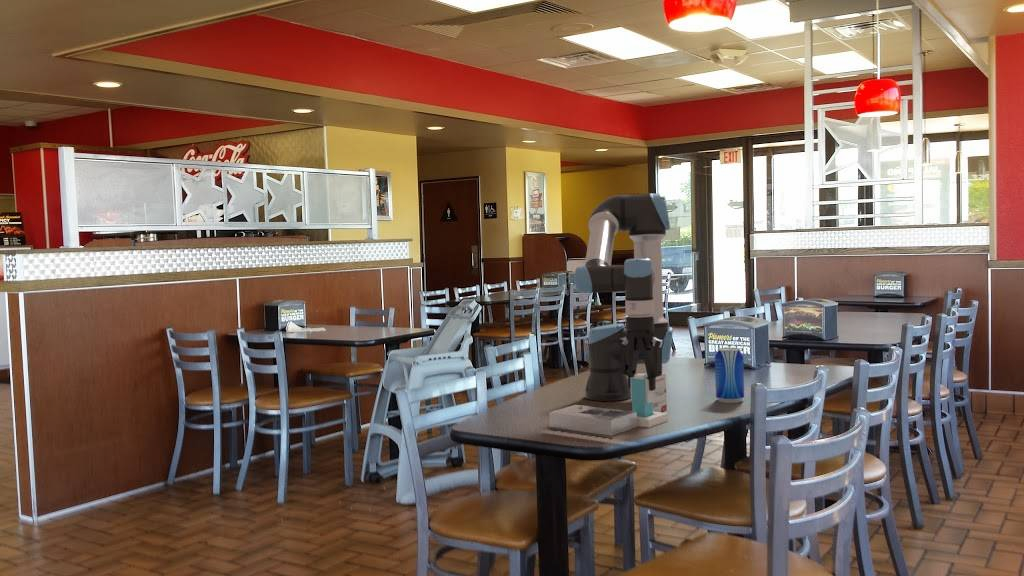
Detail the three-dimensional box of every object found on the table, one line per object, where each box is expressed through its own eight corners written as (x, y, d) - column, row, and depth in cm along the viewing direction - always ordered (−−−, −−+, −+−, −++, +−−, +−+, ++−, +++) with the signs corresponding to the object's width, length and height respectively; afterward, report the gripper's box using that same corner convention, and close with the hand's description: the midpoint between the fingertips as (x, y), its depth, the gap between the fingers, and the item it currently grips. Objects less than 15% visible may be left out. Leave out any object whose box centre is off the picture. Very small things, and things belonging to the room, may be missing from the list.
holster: (617, 426, 236) (616, 415, 236) (637, 420, 244) (637, 409, 244) (648, 431, 230) (648, 419, 229) (668, 424, 237) (668, 413, 237)
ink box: (652, 411, 255) (651, 371, 254) (667, 413, 252) (666, 372, 251) (637, 417, 248) (636, 376, 247) (652, 418, 245) (651, 377, 244)
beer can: (745, 403, 261) (743, 350, 261) (716, 403, 263) (715, 350, 262) (743, 398, 270) (742, 346, 269) (715, 398, 271) (714, 347, 271)
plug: (632, 422, 236) (631, 374, 236) (640, 419, 239) (639, 372, 239) (645, 424, 234) (643, 376, 233) (653, 421, 237) (651, 373, 236)
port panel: (550, 430, 235) (549, 410, 235) (576, 422, 244) (575, 402, 244) (611, 439, 222) (610, 418, 221) (637, 430, 231) (636, 410, 231)
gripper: (605, 316, 238) (608, 400, 239) (659, 317, 227) (662, 406, 228) (621, 313, 243) (623, 396, 245) (674, 315, 232) (677, 402, 234)
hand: (642, 401), depth 236 cm, fingers closed on plug, 4 cm apart
